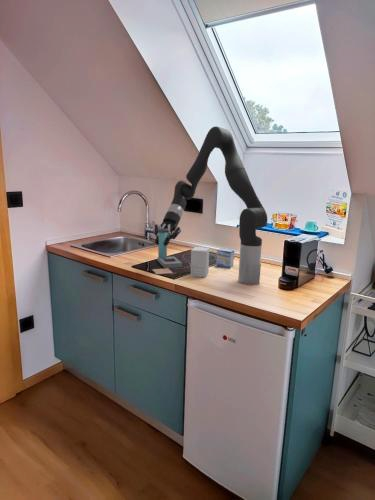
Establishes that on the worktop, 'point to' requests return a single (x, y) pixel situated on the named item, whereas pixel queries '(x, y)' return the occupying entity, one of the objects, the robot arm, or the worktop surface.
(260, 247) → the robot arm
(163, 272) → the coaster
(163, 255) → the plug
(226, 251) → the medicine box
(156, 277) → the worktop surface
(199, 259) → the supplement box
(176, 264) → the grey base plate
